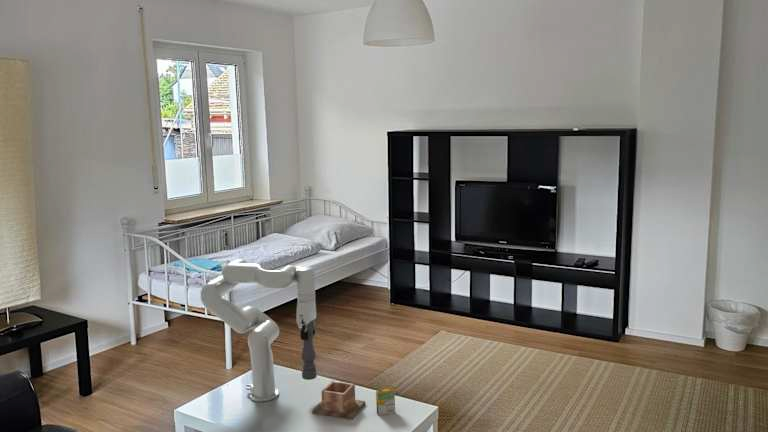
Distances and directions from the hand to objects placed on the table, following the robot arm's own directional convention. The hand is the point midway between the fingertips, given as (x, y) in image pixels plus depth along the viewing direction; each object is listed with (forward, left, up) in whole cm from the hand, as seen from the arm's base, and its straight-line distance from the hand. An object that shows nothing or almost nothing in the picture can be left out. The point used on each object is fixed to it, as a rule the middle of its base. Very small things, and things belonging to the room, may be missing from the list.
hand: (307, 336), depth 270 cm
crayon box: (+35, -2, -29) cm, 46 cm away
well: (+15, -4, -28) cm, 33 cm away
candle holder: (0, 0, -18) cm, 18 cm away
